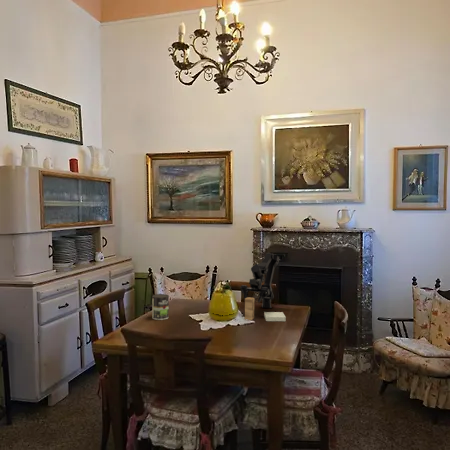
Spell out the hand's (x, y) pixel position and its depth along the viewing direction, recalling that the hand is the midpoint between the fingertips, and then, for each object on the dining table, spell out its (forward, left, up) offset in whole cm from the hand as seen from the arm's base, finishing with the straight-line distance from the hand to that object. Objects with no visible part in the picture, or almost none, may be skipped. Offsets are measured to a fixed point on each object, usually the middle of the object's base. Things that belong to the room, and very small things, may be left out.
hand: (251, 301), depth 273 cm
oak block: (+3, -1, -10) cm, 11 cm away
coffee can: (+2, -57, -11) cm, 58 cm away
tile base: (+2, +15, -10) cm, 18 cm away
